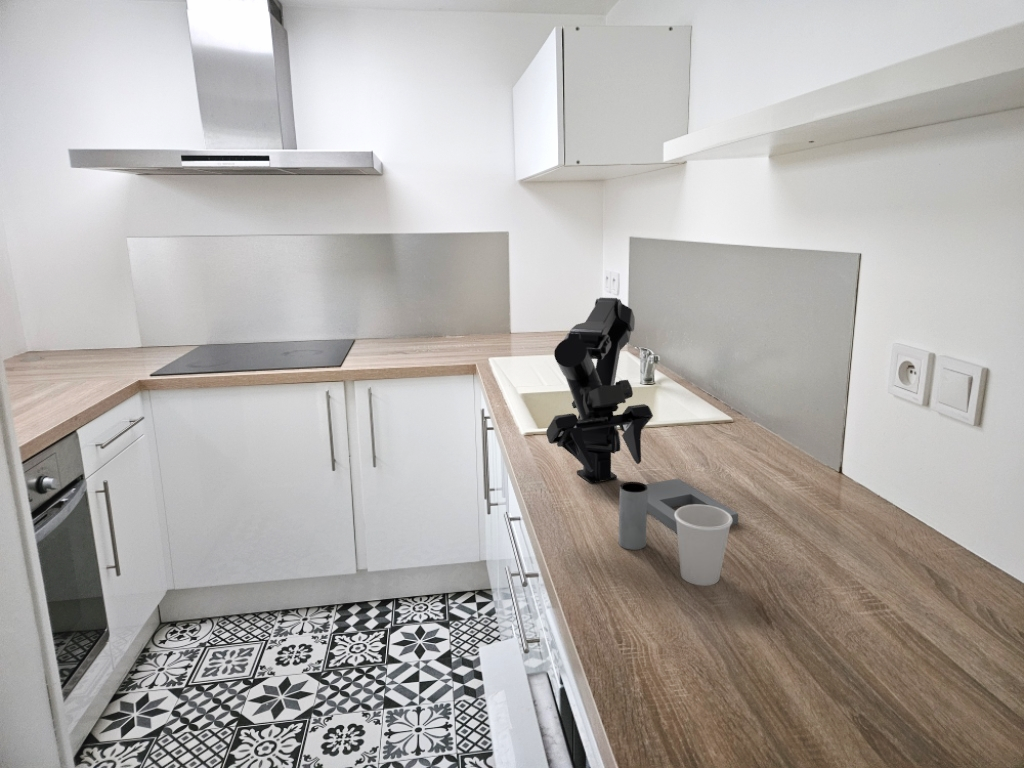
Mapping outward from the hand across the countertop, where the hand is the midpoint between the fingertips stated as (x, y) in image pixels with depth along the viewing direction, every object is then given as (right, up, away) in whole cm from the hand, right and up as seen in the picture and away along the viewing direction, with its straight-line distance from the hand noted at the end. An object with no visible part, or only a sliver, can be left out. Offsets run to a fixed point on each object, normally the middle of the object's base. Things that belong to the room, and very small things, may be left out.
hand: (615, 466), depth 117 cm
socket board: (+13, -9, +10) cm, 19 cm away
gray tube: (+2, -13, -2) cm, 13 cm away
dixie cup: (+11, -15, -12) cm, 23 cm away
